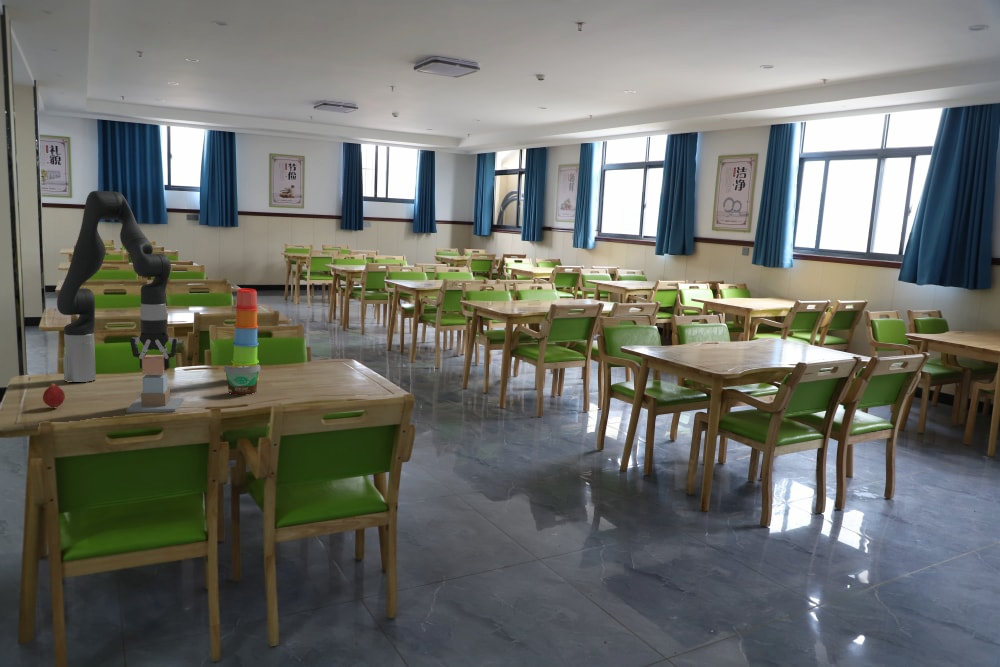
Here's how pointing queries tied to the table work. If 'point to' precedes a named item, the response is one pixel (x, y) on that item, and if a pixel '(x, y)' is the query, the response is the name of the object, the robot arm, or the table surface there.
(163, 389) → the brick
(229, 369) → the food container
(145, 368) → the brick
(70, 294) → the robot arm
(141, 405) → the tower base
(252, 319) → the stacking cups
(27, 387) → the table surface
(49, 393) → the onion
